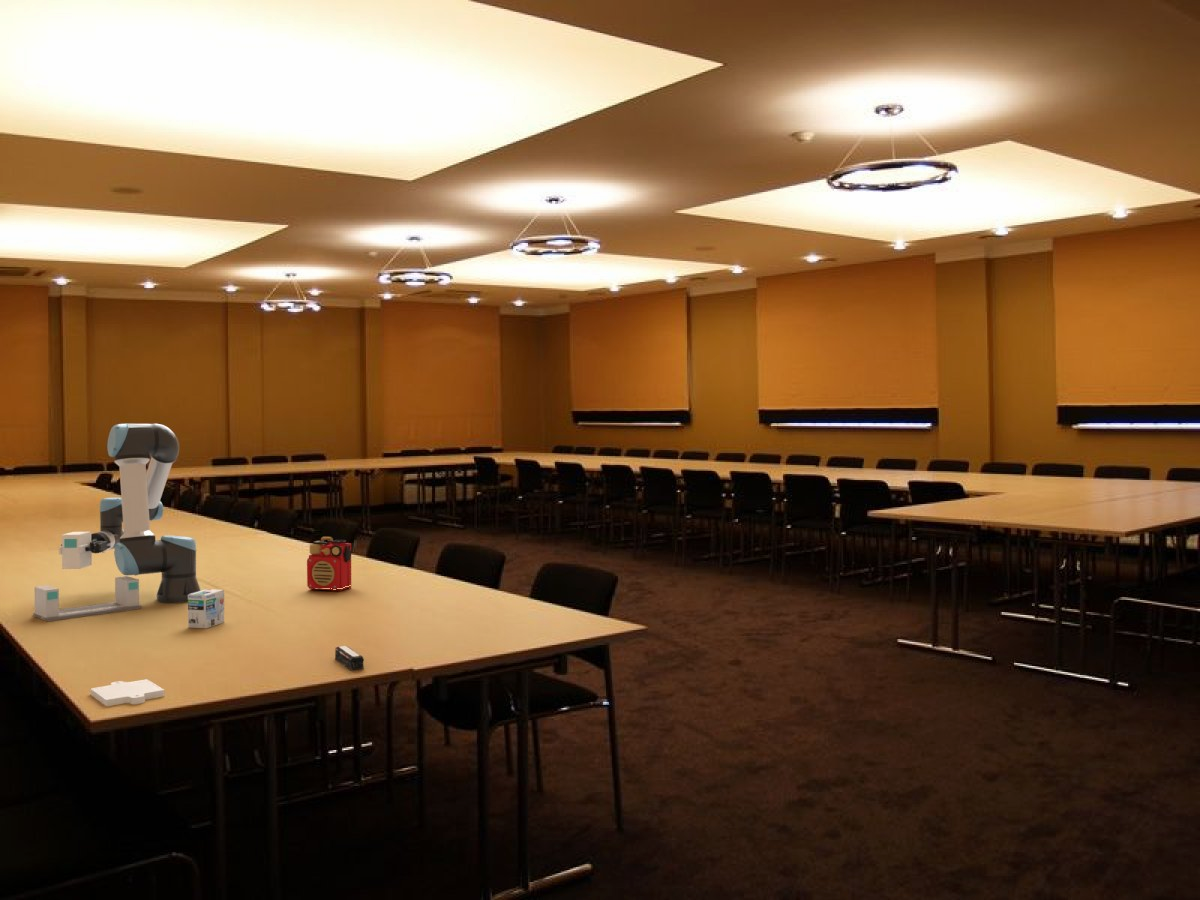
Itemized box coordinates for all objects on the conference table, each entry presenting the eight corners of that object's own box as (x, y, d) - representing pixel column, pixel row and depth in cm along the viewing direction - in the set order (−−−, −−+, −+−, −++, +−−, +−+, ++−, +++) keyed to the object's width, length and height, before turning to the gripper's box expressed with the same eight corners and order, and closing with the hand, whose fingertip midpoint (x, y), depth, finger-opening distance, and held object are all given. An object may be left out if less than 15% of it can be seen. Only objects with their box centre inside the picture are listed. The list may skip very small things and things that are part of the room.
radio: (304, 590, 383) (304, 538, 382) (318, 586, 393) (317, 535, 392) (342, 592, 379) (341, 540, 379) (354, 588, 389) (354, 537, 388)
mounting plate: (167, 700, 237) (167, 692, 237) (109, 710, 228) (109, 702, 228) (143, 684, 251) (143, 677, 250) (87, 694, 242) (87, 686, 242)
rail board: (125, 603, 355) (125, 600, 355) (141, 608, 346) (141, 605, 346) (33, 615, 333) (33, 612, 333) (47, 621, 324) (47, 618, 324)
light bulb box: (206, 629, 314) (205, 595, 314) (187, 628, 315) (186, 594, 315) (225, 622, 324) (225, 589, 324) (206, 621, 326) (206, 588, 325)
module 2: (127, 601, 354) (126, 576, 354) (139, 605, 347) (139, 579, 347) (115, 602, 351) (115, 577, 351) (127, 606, 344) (127, 580, 344)
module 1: (47, 611, 335) (47, 585, 334) (59, 616, 328) (59, 588, 327) (34, 613, 332) (34, 586, 331) (46, 617, 325) (45, 590, 324)
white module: (91, 565, 357) (91, 531, 357) (79, 569, 348) (78, 534, 347) (74, 565, 357) (74, 531, 356) (61, 569, 348) (61, 534, 347)
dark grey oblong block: (337, 678, 259) (337, 661, 258) (311, 657, 280) (311, 642, 280) (391, 670, 266) (391, 655, 266) (362, 651, 287) (362, 637, 287)
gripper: (126, 552, 371) (97, 561, 348) (73, 552, 370) (42, 561, 347) (125, 532, 371) (97, 539, 347) (73, 532, 370) (41, 539, 347)
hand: (69, 550), depth 347 cm, fingers closed on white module, 6 cm apart
